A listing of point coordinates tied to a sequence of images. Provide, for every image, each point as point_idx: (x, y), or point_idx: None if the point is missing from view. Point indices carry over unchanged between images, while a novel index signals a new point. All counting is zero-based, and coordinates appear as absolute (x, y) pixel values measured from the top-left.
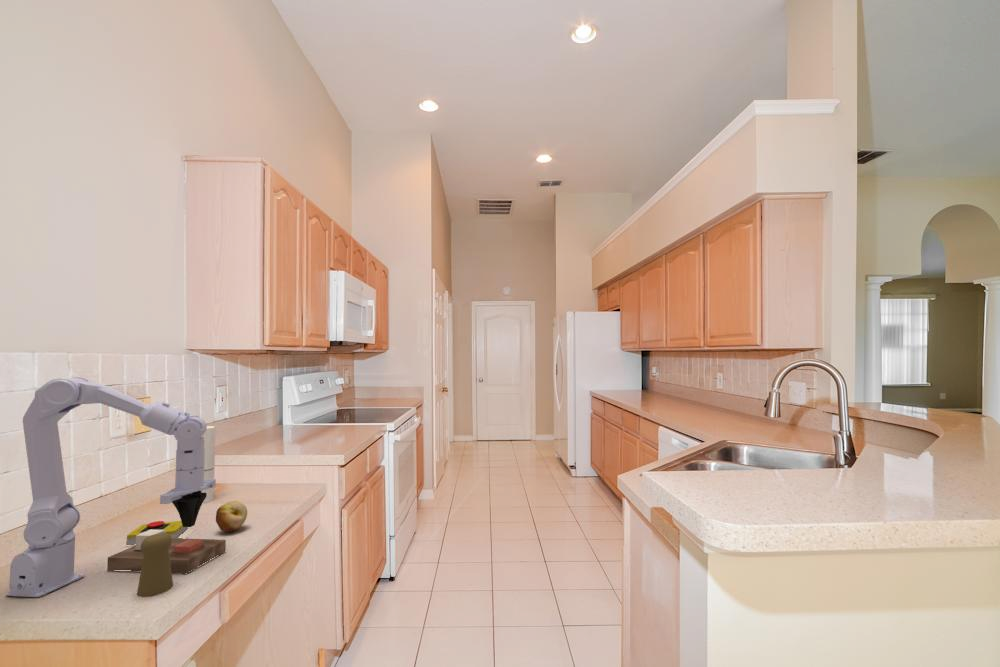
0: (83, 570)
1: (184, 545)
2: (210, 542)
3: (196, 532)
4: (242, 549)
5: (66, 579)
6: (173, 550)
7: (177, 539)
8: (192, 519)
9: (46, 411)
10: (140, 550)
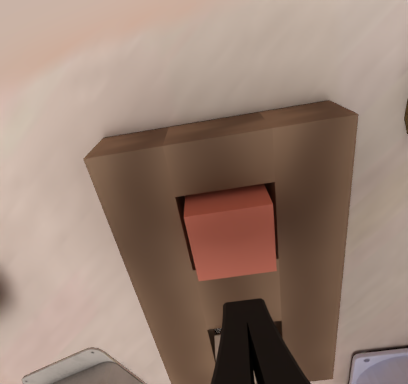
0: None
1: (259, 241)
2: (141, 201)
3: (36, 361)
4: (43, 84)
5: (404, 362)
6: None
7: (163, 334)
8: (270, 338)
9: None
10: None
